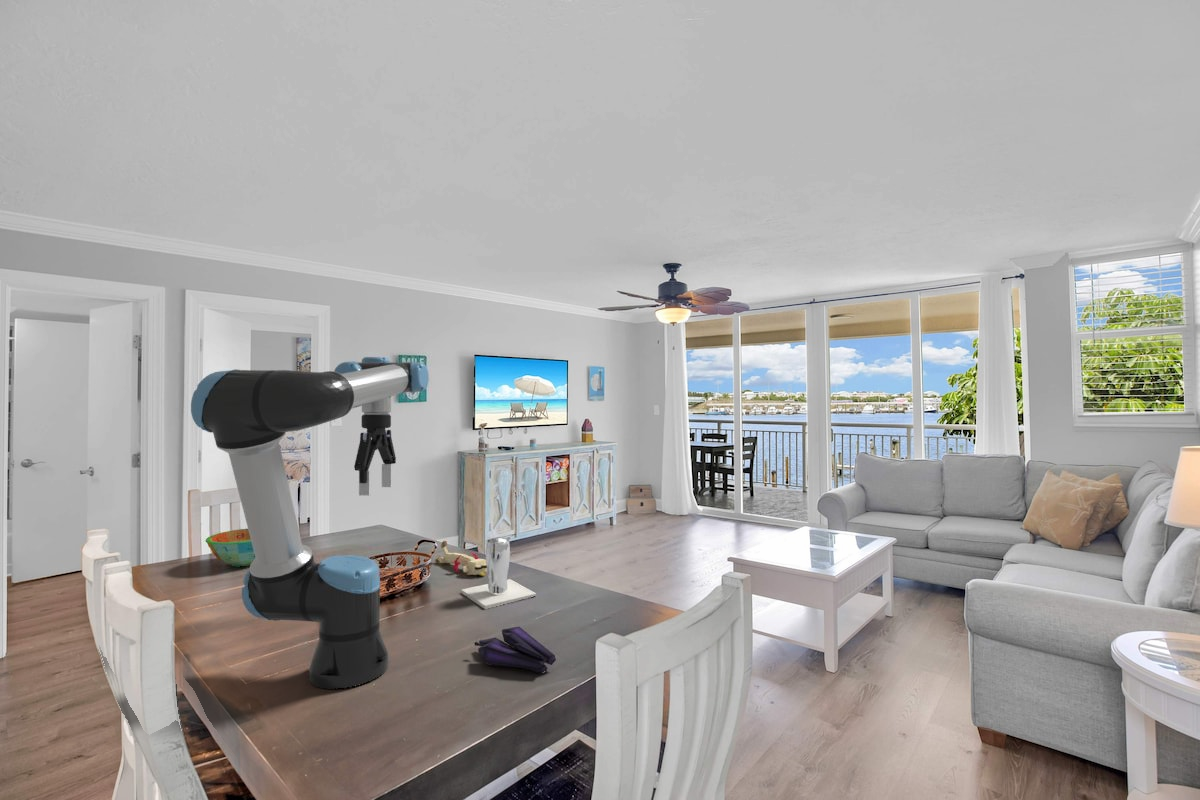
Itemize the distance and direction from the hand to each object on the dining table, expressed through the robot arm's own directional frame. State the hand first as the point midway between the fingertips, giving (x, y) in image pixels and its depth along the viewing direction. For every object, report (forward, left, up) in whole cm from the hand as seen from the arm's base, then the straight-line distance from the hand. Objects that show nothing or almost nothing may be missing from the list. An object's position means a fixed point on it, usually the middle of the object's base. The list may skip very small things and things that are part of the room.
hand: (376, 491), depth 156 cm
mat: (-12, -31, -32) cm, 46 cm away
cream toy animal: (+18, -33, -32) cm, 49 cm away
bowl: (+67, +25, -32) cm, 78 cm away
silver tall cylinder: (-12, -31, -31) cm, 45 cm away
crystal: (-51, -14, -32) cm, 62 cm away
